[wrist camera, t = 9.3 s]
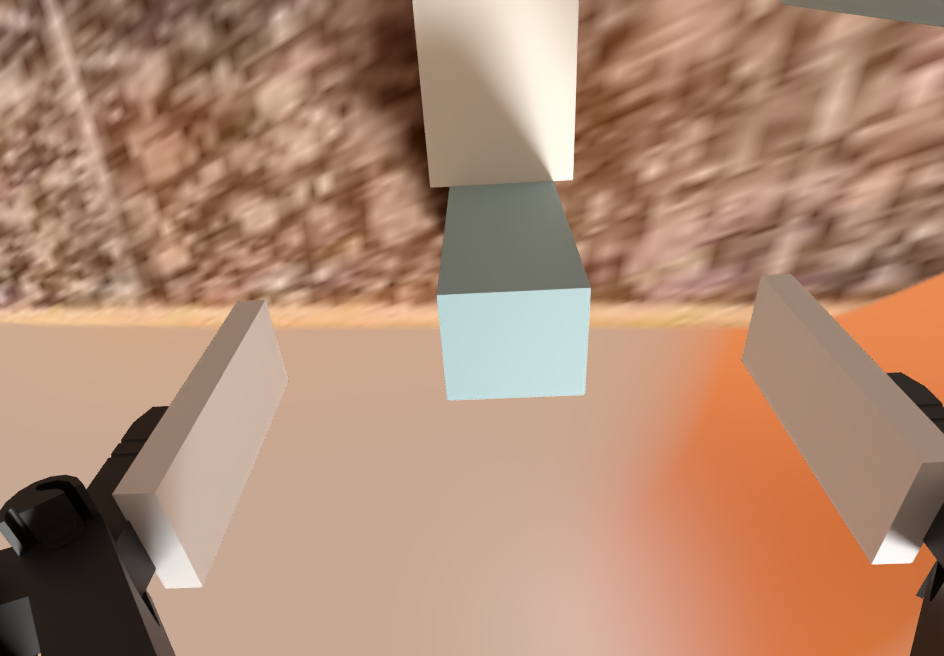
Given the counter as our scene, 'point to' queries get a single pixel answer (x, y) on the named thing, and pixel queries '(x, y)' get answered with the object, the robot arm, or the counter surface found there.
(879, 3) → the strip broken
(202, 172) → the counter surface
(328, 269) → the counter surface
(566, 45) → the multicoloured block
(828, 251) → the counter surface
